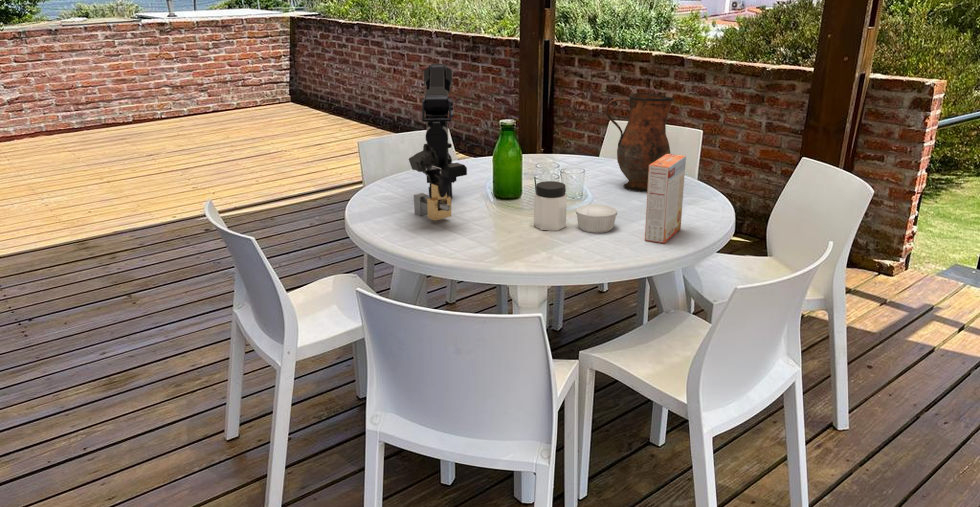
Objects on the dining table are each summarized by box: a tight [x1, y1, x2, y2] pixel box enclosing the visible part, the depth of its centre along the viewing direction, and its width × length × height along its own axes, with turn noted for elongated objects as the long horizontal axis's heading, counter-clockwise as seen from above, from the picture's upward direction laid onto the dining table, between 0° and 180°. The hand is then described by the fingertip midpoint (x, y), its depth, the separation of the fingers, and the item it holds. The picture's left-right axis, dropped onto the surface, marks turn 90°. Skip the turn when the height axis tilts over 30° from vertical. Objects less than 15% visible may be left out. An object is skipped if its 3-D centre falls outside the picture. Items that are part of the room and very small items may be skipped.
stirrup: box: [427, 182, 452, 222], centre depth 218 cm, size 6×3×10 cm, turn 130°
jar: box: [533, 180, 568, 232], centre depth 216 cm, size 9×8×12 cm
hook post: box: [413, 192, 450, 218], centre depth 222 cm, size 4×15×6 cm, turn 40°
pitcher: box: [605, 92, 675, 193], centre depth 250 cm, size 17×21×30 cm
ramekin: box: [575, 204, 618, 234], centre depth 216 cm, size 11×11×5 cm
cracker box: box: [644, 153, 687, 244], centre depth 207 cm, size 14×6×21 cm, turn 149°
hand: (439, 195), depth 218 cm, fingers closed on stirrup, 3 cm apart
